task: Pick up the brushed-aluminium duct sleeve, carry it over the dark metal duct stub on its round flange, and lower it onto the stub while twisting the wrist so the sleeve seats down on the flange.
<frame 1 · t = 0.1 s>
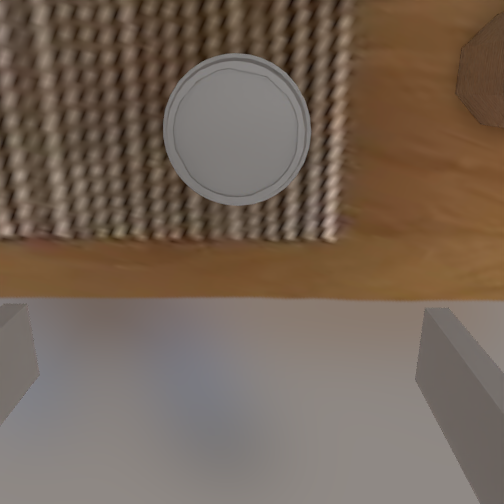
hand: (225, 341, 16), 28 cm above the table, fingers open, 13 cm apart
disposable coffee cup: (243, 121, 40), on the table
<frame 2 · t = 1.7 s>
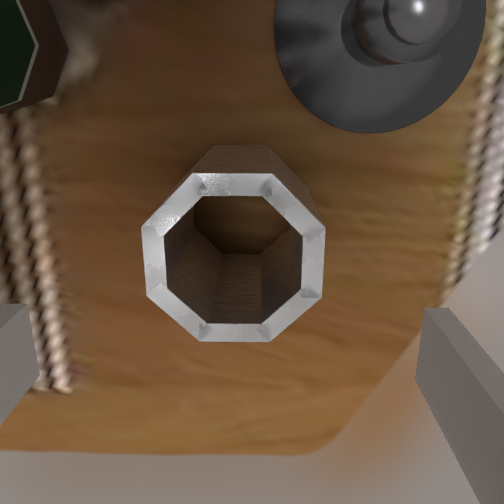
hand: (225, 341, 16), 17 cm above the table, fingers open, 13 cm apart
beer bottle: (8, 46, 28), on the table
duct sleeve: (241, 208, 31), on the table
duct stub: (376, 26, 27), on the table
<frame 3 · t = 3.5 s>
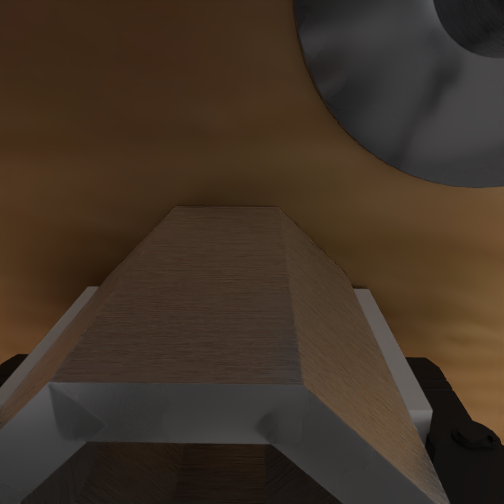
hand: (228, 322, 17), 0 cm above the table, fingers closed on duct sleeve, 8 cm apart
duct sleeve: (228, 317, 17), on the table, touching gripper
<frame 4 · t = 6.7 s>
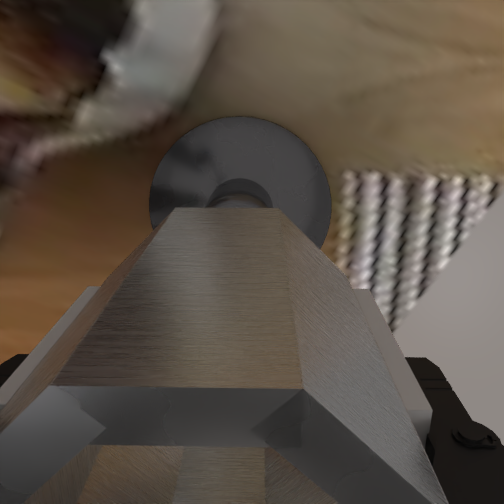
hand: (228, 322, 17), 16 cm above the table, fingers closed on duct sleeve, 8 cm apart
duct sleeve: (228, 319, 17), point 15 cm above the table, touching gripper
duct stub: (240, 209, 31), on the table
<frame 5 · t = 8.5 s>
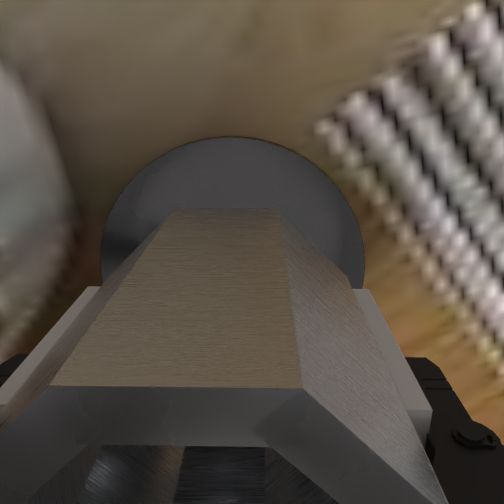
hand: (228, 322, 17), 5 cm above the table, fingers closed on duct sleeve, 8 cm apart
duct sleeve: (228, 319, 17), point 5 cm above the table, touching gripper
duct stub: (233, 267, 22), on the table
when the fingers open (2 cm above the table, at t = 10.0 s): duct sleeve drops 1 cm, resting on duct stub.
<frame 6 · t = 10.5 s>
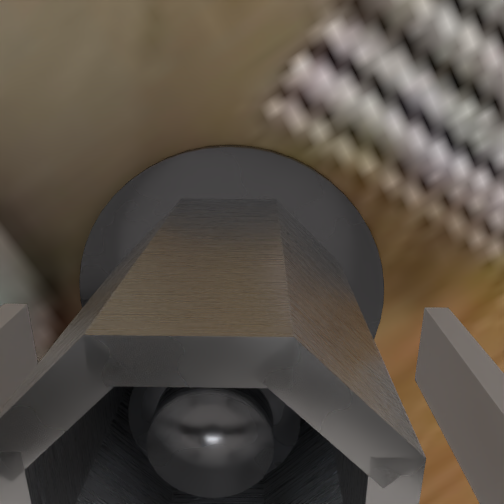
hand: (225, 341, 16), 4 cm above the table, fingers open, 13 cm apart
duct sleeve: (230, 302, 19), point 1 cm above the table, touching duct stub
duct stub: (232, 294, 19), on the table
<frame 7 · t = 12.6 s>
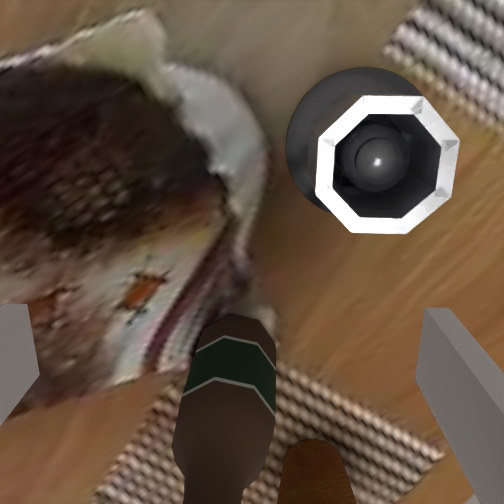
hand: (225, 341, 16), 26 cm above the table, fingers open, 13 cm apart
beer bottle: (237, 345, 46), on the table
duct sleeve: (359, 147, 38), point 1 cm above the table, touching duct stub
duct stub: (358, 145, 39), on the table
disposable coffee cup: (312, 461, 50), on the table
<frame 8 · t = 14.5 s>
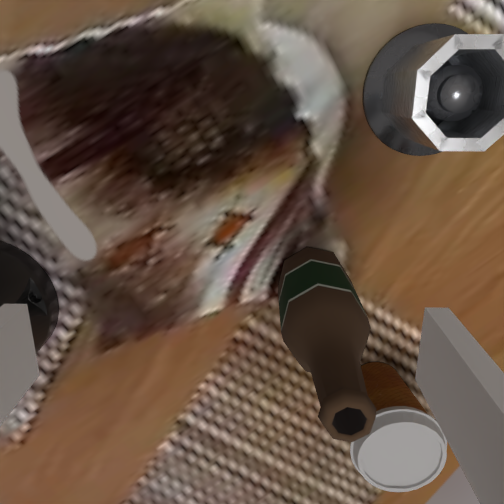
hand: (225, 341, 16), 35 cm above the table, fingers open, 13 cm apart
beer bottle: (311, 276, 52), on the table
duct sleeve: (426, 93, 45), point 1 cm above the table, touching duct stub
duct stub: (424, 92, 45), on the table
disposable coffee cup: (373, 383, 57), on the table
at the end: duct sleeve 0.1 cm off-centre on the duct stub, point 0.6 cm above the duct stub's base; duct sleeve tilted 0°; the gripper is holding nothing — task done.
